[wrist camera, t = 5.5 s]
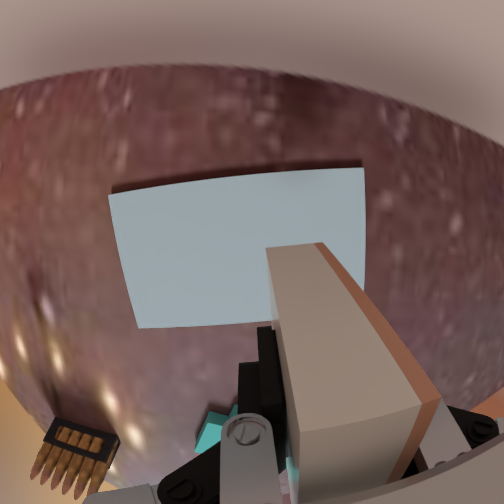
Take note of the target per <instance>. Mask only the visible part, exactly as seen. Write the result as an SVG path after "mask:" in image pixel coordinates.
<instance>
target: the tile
mask: <svg viewBox="0 0 504 504" xmlns="http://www.w3.org/2000/svg"><path fill="white" fill-rule="evenodd" d="M265 251H266V262H267V273H268V285H269V296H270V308H271V320H272V330H273V329H275V332H276V339H277V345H278V352H279V358H280V364H281V371H282V377H283V384H284V391H285V397H286V408H287V430H288V457H287V458H286V462H287V471H288V479H289V488H290V496H291V504H300V503H307V502H313V501H319V500H325V499H330V498H335V497H340V496H345V495H349V494H353V493H357V492H361V491H365V490H369V489H373V488H376V487H380V486H383V485H386V484H390V483H393V482H396V481H399V480H400V479H401V478H402V476H403V474H404V473H405V471H406V469H407V468H408V466H409V464H410V462H411V460H412V459H413V457H414V455H415V453H416V451H417V449H418V447H419V446H420V444H421V442H422V440H423V438H424V436H425V434H426V431H427V429H428V427H429V425H430V423H431V421H432V419H433V416H434V414H435V412H436V409H437V407H438V405H439V402H440V400H441V395H440V394H439V392H438V391H437V389H436V388H435V386H434V385H433V384H432V382H431V381H430V379H429V378H428V376H427V375H426V374H425V372H424V371H423V369H422V368H421V367H420V365H419V364H418V362H417V361H416V360H415V358H414V357H413V355H412V354H411V353H410V351H409V350H408V349H407V347H406V346H405V345H404V343H403V342H402V341H401V339H400V338H399V337H398V335H397V334H396V333H395V331H394V330H393V329H392V327H391V326H390V325H389V323H388V322H387V321H386V319H385V318H384V317H383V316H382V314H381V313H380V312H379V310H378V309H377V308H376V307H375V305H374V304H373V303H372V301H371V300H370V299H369V298H368V296H367V295H366V294H365V293H364V291H363V290H362V289H361V288H360V286H359V285H358V284H357V283H356V281H355V280H354V279H353V278H352V277H351V275H350V274H349V273H348V272H347V270H346V269H345V268H344V267H343V266H342V264H341V263H340V262H339V261H338V260H337V258H336V257H335V256H334V255H333V254H332V252H331V251H330V250H329V249H328V248H327V247H326V245H325V244H324V243H323V242H318V243H308V244H298V245H288V246H278V247H268V248H265Z"/></svg>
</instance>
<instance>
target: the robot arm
mask: <svg viewBox="0 0 504 504" xmlns="http://www.w3.org/2000/svg"><path fill="white" fill-rule="evenodd" d="M257 337H258V354H259V361H257V362H245V363H239V375H238V410H237V415H236V416H233V417H231V418H230V419H229V420H227V421H226V422H225V424H224V425H223V426H222V430H221V440H220V441H219V442H217V443H216V444H214V445H213V446H212V447H210V448H209V449H207V450H206V451H204V452H203V453H201V454H200V455H198V456H197V457H196V458H194V459H193V460H191V461H189V462H188V463H186V464H185V465H183V466H182V467H180V468H179V469H177V470H175V471H174V472H172V473H171V474H169V475H167V476H166V477H165V478H164V479H162V480H161V482H160V483H159V484H157V485H152V486H150V484H149V483H148V484H144V485H139V486H134V487H129V488H123V489H117V490H111V491H104V492H97V493H93V494H90V495H89V496H88V497H86V498H85V500H84V501H83V503H82V504H283V502H282V494H281V487H280V481H279V474H280V473H281V472H282V471H283V470H284V469H285V468H286V458H287V457H288V430H287V408H286V397H285V391H284V384H283V377H282V371H281V364H280V358H279V352H278V345H277V339H276V332H275V329H273V330H272V327H271V326H265V327H257ZM300 504H504V417H501V418H496V420H495V421H494V420H493V419H492V418H490V417H488V416H485V415H482V414H477V413H473V412H469V411H466V410H462V409H458V408H454V407H451V406H447V405H446V404H445V403H444V401H443V399H442V398H441V400H440V402H439V405H438V407H437V409H436V412H435V414H434V416H433V419H432V421H431V423H430V425H429V427H428V429H427V431H426V434H425V436H424V438H423V440H422V442H421V444H420V446H419V447H418V449H417V451H416V453H415V455H414V457H413V459H412V460H411V462H410V464H409V466H408V468H407V469H406V471H405V473H404V474H403V476H402V478H401V479H400V480H399V481H396V482H393V483H390V484H386V485H383V486H380V487H376V488H373V489H369V490H365V491H361V492H357V493H353V494H349V495H345V496H340V497H335V498H330V499H325V500H319V501H313V502H307V503H300Z"/></svg>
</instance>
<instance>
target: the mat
mask: <svg viewBox="0 0 504 504" xmlns="http://www.w3.org/2000/svg"><path fill="white" fill-rule="evenodd" d="M108 198H109V204H110V210H111V215H112V221H113V226H114V232H115V237H116V241H117V246H118V251H119V255H120V260H121V264H122V268H123V273H124V277H125V281H126V285H127V289H128V292H129V296H130V300H131V303H132V307H133V311H134V314H135V318H136V321H137V324H138V328H165V327H188V326H206V325H221V324H234V323H247V322H258V321H269V320H271V308H270V296H269V285H268V273H267V262H266V251H265V248H268V247H278V246H288V245H298V244H308V243H318V242H323V243H324V244H325V245H326V247H327V248H328V249H329V250H330V251H331V252H332V254H333V255H334V256H335V257H336V258H337V260H338V261H339V262H340V263H341V264H342V266H343V267H344V268H345V269H346V270H347V272H348V273H349V274H350V275H351V277H352V278H353V279H354V280H355V281H356V283H357V284H358V285H359V286H360V288H361V289H362V290H363V291H364V275H365V182H364V168H332V169H313V170H297V171H283V172H271V173H259V174H249V175H239V176H230V177H221V178H213V179H205V180H197V181H189V182H182V183H175V184H169V185H162V186H156V187H149V188H143V189H138V190H132V191H126V192H121V193H115V194H111V195H108Z"/></svg>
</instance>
